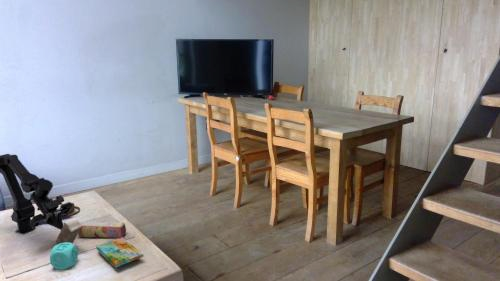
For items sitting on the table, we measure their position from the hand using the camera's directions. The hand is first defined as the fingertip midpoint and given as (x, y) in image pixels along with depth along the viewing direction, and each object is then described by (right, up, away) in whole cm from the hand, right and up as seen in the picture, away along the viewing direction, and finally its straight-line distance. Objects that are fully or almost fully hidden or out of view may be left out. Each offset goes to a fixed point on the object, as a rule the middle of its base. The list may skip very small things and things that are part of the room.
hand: (62, 229), depth 175 cm
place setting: (-16, -1, +34) cm, 38 cm away
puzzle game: (+28, -11, -7) cm, 31 cm away
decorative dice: (+7, -12, -12) cm, 18 cm away
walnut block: (0, -7, +2) cm, 7 cm away
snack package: (+13, -6, +12) cm, 19 cm away
